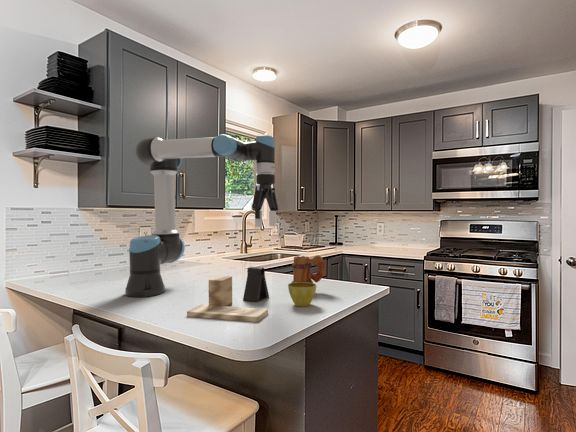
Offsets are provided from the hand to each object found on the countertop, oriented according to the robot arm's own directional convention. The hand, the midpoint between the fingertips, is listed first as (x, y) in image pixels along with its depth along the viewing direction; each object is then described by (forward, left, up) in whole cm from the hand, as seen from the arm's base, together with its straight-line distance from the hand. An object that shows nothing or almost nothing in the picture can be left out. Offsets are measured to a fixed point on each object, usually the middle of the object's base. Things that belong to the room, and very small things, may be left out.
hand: (265, 226), depth 144 cm
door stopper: (-1, -10, -27) cm, 29 cm away
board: (-2, -32, -27) cm, 42 cm away
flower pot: (+18, -14, -27) cm, 36 cm away
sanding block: (-9, -23, -27) cm, 37 cm away
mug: (+15, +8, -27) cm, 32 cm away
